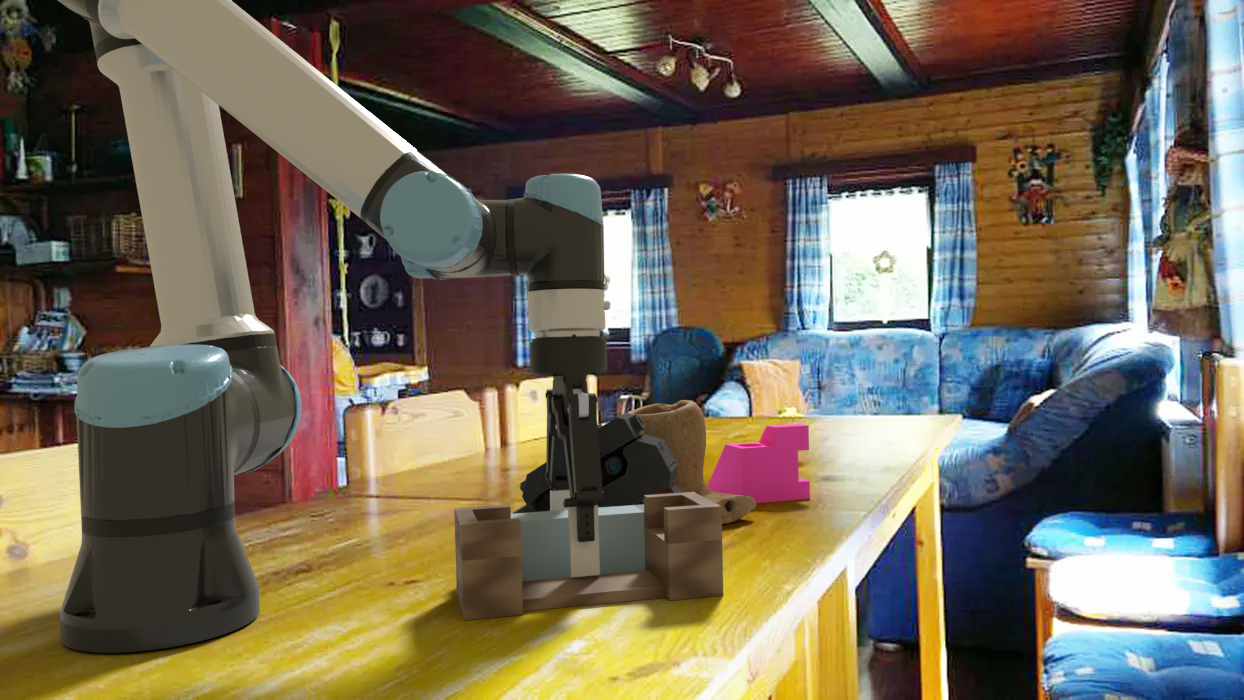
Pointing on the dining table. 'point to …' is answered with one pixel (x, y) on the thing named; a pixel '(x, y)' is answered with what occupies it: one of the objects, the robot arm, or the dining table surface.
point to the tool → (616, 468)
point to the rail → (551, 542)
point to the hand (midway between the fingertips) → (574, 563)
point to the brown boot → (690, 452)
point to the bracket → (764, 466)
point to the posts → (675, 569)
